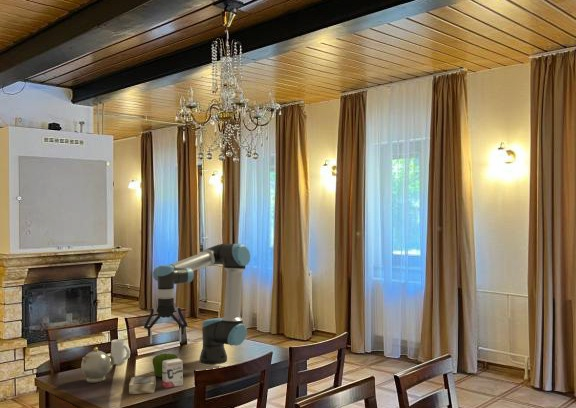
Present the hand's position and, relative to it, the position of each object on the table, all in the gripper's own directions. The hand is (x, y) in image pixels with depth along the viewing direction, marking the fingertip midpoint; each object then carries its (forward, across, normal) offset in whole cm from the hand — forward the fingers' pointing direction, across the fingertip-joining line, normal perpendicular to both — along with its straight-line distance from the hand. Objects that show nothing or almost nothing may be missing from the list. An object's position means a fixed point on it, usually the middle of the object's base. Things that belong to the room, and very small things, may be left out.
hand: (165, 342), depth 273 cm
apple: (+20, 0, -14) cm, 25 cm away
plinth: (+20, +10, +5) cm, 23 cm away
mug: (+20, +24, -48) cm, 57 cm away
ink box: (+20, -3, +3) cm, 20 cm away
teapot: (+20, +32, -16) cm, 41 cm away
